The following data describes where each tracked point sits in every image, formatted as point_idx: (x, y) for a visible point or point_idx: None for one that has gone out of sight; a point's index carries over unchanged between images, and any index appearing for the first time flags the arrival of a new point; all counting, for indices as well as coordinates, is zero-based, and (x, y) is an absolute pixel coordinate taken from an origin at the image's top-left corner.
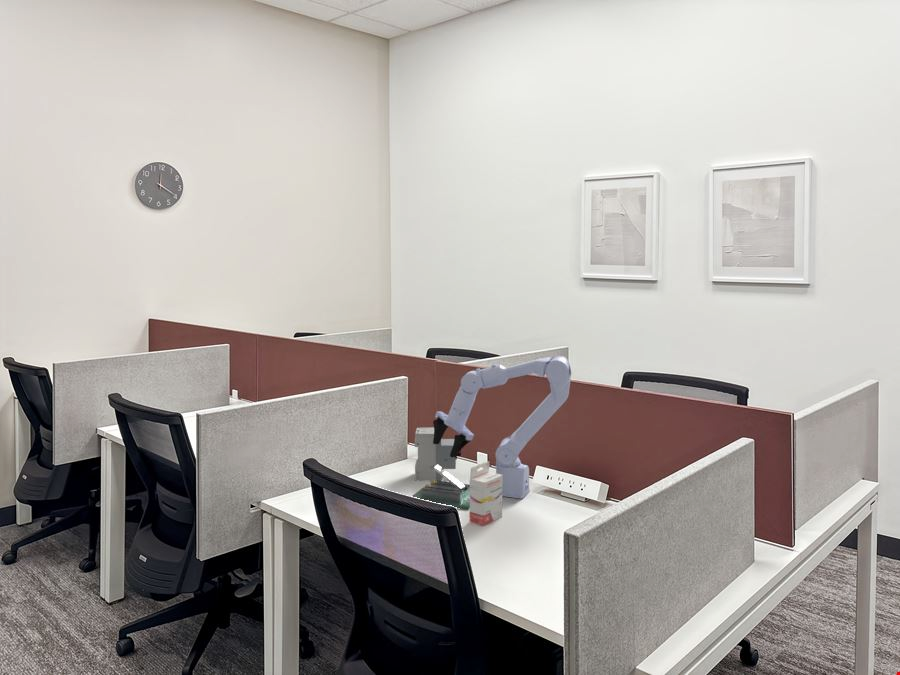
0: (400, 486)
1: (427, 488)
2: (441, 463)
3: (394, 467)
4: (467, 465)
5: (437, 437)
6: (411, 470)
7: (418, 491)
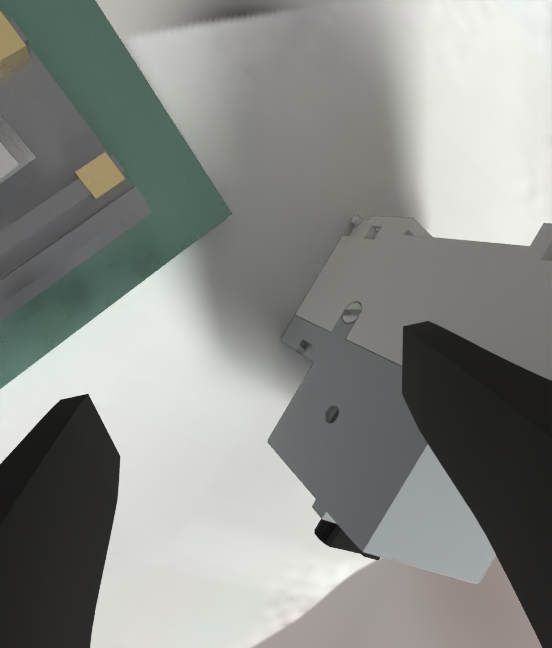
0: (326, 82)
1: None
2: (333, 376)
3: (530, 232)
4: None
5: (458, 406)
6: None
7: (130, 64)
